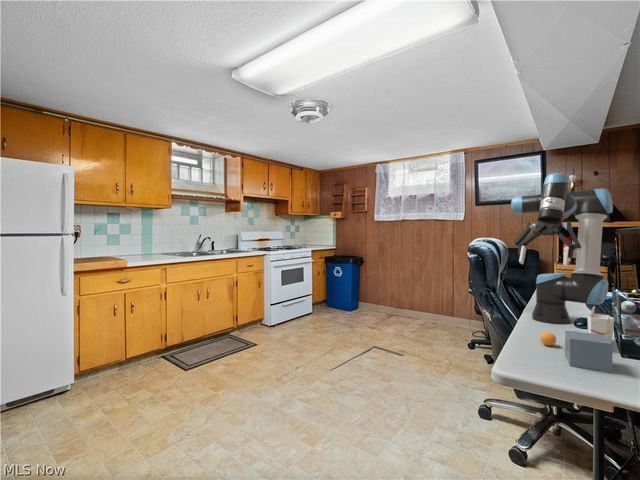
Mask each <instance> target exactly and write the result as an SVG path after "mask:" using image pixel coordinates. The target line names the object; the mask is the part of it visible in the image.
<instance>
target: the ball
mask: <svg viewBox="0 0 640 480" xmlns="http://www.w3.org/2000/svg"><path fill="white" fill-rule="evenodd" d="M539 336H540V337H539V339H540V342H541V343H542V344H543V345H544V346H548V347H552V346H554V345H555V344H556V343H557V338H556V335H554V334H553V332H550V331H544V332H542V333H541V334H540V335H539Z"/></svg>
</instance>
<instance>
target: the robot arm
mask: <svg viewBox="0 0 640 480" xmlns="http://www.w3.org/2000/svg"><path fill="white" fill-rule="evenodd" d="M569 184H570V182H569V176H568V175H567V174H566V173H565V174H564V173H559V172H556V173H551V174H549V175H547V176H545V179H544V183H543V187H542V192H541V193H542V194H533V195H521V196H515V197H513V198H512V199H511V202H510V206H511V208H510V209H511V211H512V212H513V214H521V215H522V214H533V213H538V216H537V222H536V223H531V222H527V224H526V226H525V228H524V229H523V230H522V232H521V233H520V234H519V235H518V237H517V238H516V239H515V240H514V242H513V243H514V245H515V246H516V247H518V248H517V254H518V256H519V259H518V262H519V264H521V265H524V264H525V263H524V262H525V257H526V253H527V247H526V246H528V245H529V244H530V243H531V242H533V241H534V240H535V239H537V238H538V237H540V236H554V235H556V236H557V237H558V238H559V240H561V241H562V242H563V243H564V244H565V246H566V247H565V250H564V251H565V252H564V258H563V262H562V263H563V266H564V268H568V266H569V262H570V261H569V260H570V259H573V258H574V253H575V250H576V257H575V259H576V260H575V269H574V270H573V271H571V272H570V276H566V275H567V274H566V273H565V272H563V273H562V272H557V273H555V272H554V273H553V272H552V273H551V272H550V273H540V274H538V275H537V277H536V282H535V287H536V288H535V291H536V293H535V294H536V301H535V306H534V309H533V311H532V313H531V314H532V315H531V319H532V320H535V321H538V322H541V323H548V324H557V325H567V324H570V323H571V317H570V314H569V312H568V310H567V306H566V302H571V303H580V304H585V305H586V304H587V305H594V306H595V305H596V306H597V305H602V304H604V302H605V300H606V299H607V295H608V291H609V281H608V280H607V279H605V277H604V274H603V273H602V272H601V271H600V268H601V257H602V256H601V255H602V239H603V238H602V237H603V225H604V224H603V222H604V220H606V219H607V218H608V214H611V213H613V210H614V205H613V198H612V195H611V193H610V191H609V190H608V189H607V188H592V189H581V190H572V191H571V190H570V188H569ZM567 215H568V216H571V215H574V216H575V217H574V218H575V219H576V220H578V227H577V228H578V230H577V231H578V232H577V236H576V234H575V232H574V230H573V224H572V222H571V221H567V222H566V223H563V220H564V219H563V218H564V216H567ZM563 228H564V229H565V230H567V232H568V233H569V235H570V238H571V239H572V241H573V243H574V244H572V242H570V240H569V239H568V238H566V236H565V235H564V234H563V233H562V232H561V230H562V229H563ZM532 230H533V232H531V231H532ZM530 232H531V234H530Z"/></svg>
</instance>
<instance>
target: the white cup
mask: <svg viewBox="0 0 640 480" xmlns="http://www.w3.org/2000/svg"><path fill="white" fill-rule="evenodd" d="M586 319H587V333H591V313H589V314H586ZM614 320H615V318H614V317H612V316H610V324H609V341H610V342H611V343H612V341H613V337H614V336H613V334H614V324H615V323H614ZM612 344H613V343H612Z"/></svg>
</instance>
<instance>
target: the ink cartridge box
mask: <svg viewBox="0 0 640 480" xmlns="http://www.w3.org/2000/svg"><path fill="white" fill-rule="evenodd" d="M595 309H596V306H595V305H594V306H593V307H592V308H591V312H590V314H591V334H600V335H604V336H605V337H606V338H607V339H608V340H609V324H610V317H611V316H610V315H608V314H600V313H595Z"/></svg>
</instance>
